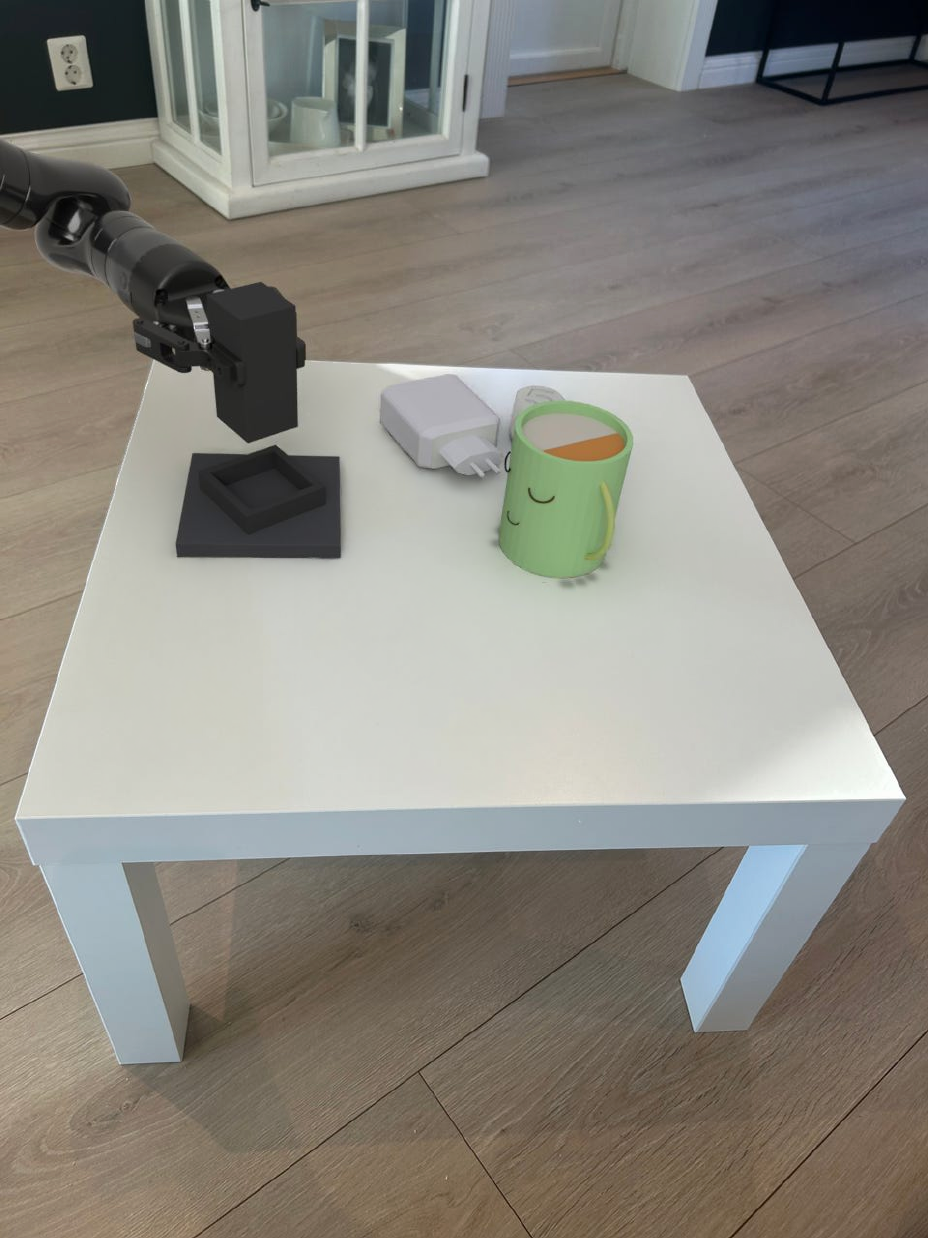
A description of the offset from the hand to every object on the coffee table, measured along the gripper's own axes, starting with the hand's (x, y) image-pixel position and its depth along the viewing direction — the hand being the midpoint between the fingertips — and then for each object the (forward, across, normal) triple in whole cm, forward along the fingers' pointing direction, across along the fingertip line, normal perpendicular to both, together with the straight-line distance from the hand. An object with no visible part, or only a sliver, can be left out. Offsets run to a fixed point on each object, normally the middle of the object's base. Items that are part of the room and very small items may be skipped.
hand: (271, 366), depth 77 cm
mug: (+18, -19, -16) cm, 30 cm away
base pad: (-3, 0, -16) cm, 16 cm away
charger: (0, -21, -16) cm, 26 cm away
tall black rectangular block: (-3, 0, -6) cm, 7 cm away
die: (+2, -30, -16) cm, 34 cm away
